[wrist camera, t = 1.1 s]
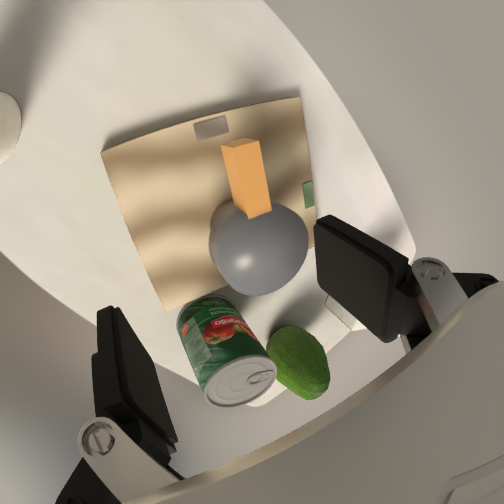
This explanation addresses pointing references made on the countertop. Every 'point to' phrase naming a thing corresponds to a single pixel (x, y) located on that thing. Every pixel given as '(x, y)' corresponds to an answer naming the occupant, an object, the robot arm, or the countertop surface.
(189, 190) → the plate
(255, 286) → the grey paddle
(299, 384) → the avocado
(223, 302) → the canned tomato
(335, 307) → the medicine bottle
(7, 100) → the cylindrical container
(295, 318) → the countertop surface
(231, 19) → the countertop surface
